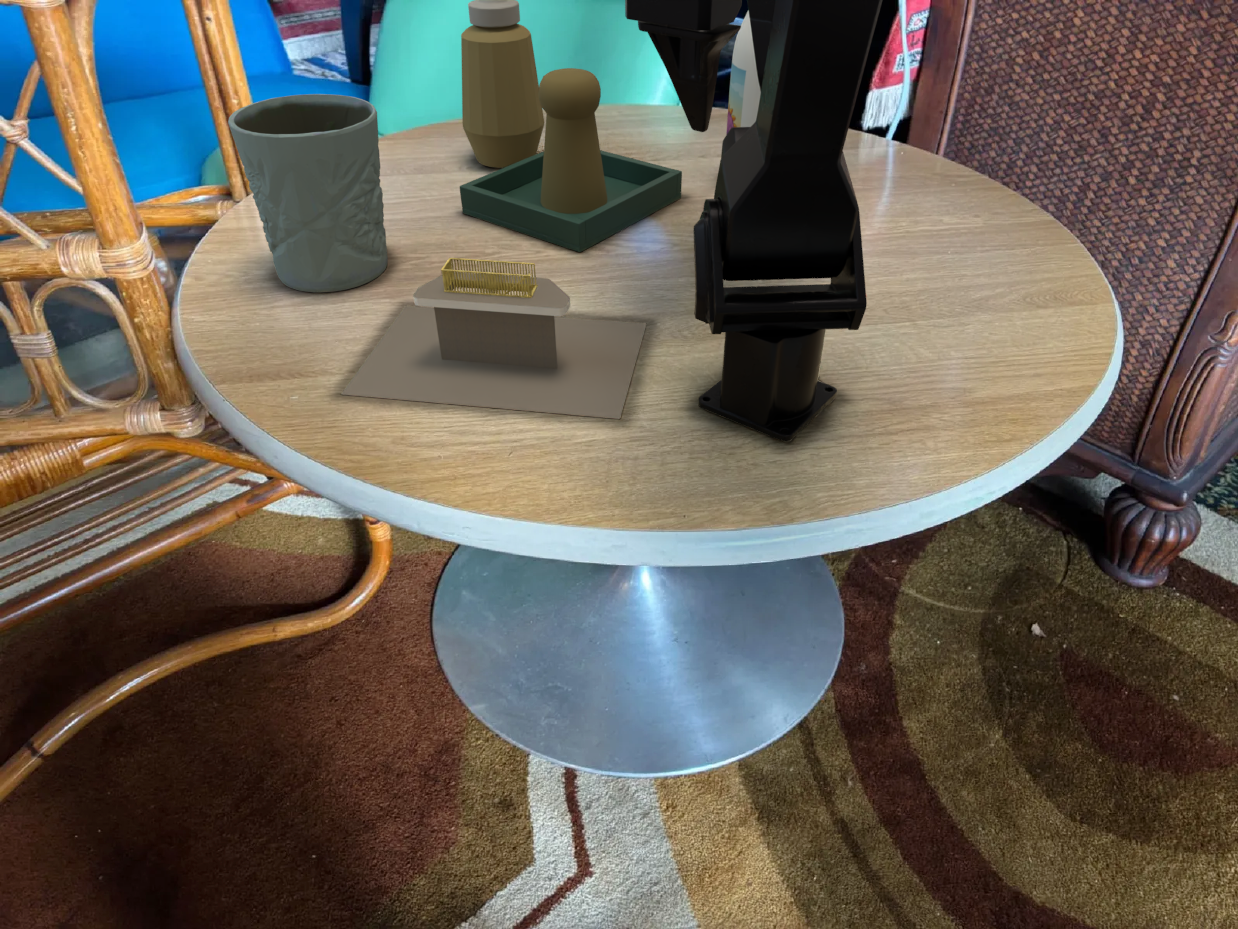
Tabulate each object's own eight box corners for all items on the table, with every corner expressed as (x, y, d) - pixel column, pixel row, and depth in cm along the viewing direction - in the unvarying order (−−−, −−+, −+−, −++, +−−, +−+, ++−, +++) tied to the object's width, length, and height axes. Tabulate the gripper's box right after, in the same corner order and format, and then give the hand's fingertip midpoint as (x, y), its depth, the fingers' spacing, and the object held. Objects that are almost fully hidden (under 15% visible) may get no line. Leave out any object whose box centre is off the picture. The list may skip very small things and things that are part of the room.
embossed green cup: (246, 268, 71) (201, 113, 64) (354, 230, 77) (325, 83, 70) (316, 310, 66) (276, 145, 58) (427, 265, 72) (403, 110, 64)
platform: (405, 305, 66) (391, 220, 62) (646, 323, 64) (647, 236, 60) (340, 394, 57) (318, 301, 53) (619, 418, 55) (619, 323, 51)
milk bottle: (818, 178, 86) (849, -62, 74) (784, 204, 81) (812, -48, 68) (745, 163, 89) (764, -69, 77) (708, 188, 84) (722, -57, 72)
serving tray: (580, 252, 73) (578, 223, 72) (462, 213, 80) (459, 185, 78) (681, 197, 82) (682, 170, 81) (568, 166, 89) (567, 140, 87)
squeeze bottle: (543, 174, 87) (531, -36, 76) (460, 174, 87) (436, -35, 76) (549, 146, 93) (539, -51, 82) (472, 146, 94) (451, -51, 83)
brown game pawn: (599, 215, 78) (596, 83, 71) (532, 211, 79) (523, 79, 72) (613, 190, 82) (612, 63, 76) (550, 185, 83) (543, 59, 77)
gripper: (799, -138, 44) (768, 177, 53) (946, -161, 55) (899, 102, 65) (618, -148, 49) (620, 140, 59) (787, -167, 61) (765, 76, 70)
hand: (735, 113), depth 63 cm, fingers open, 9 cm apart
